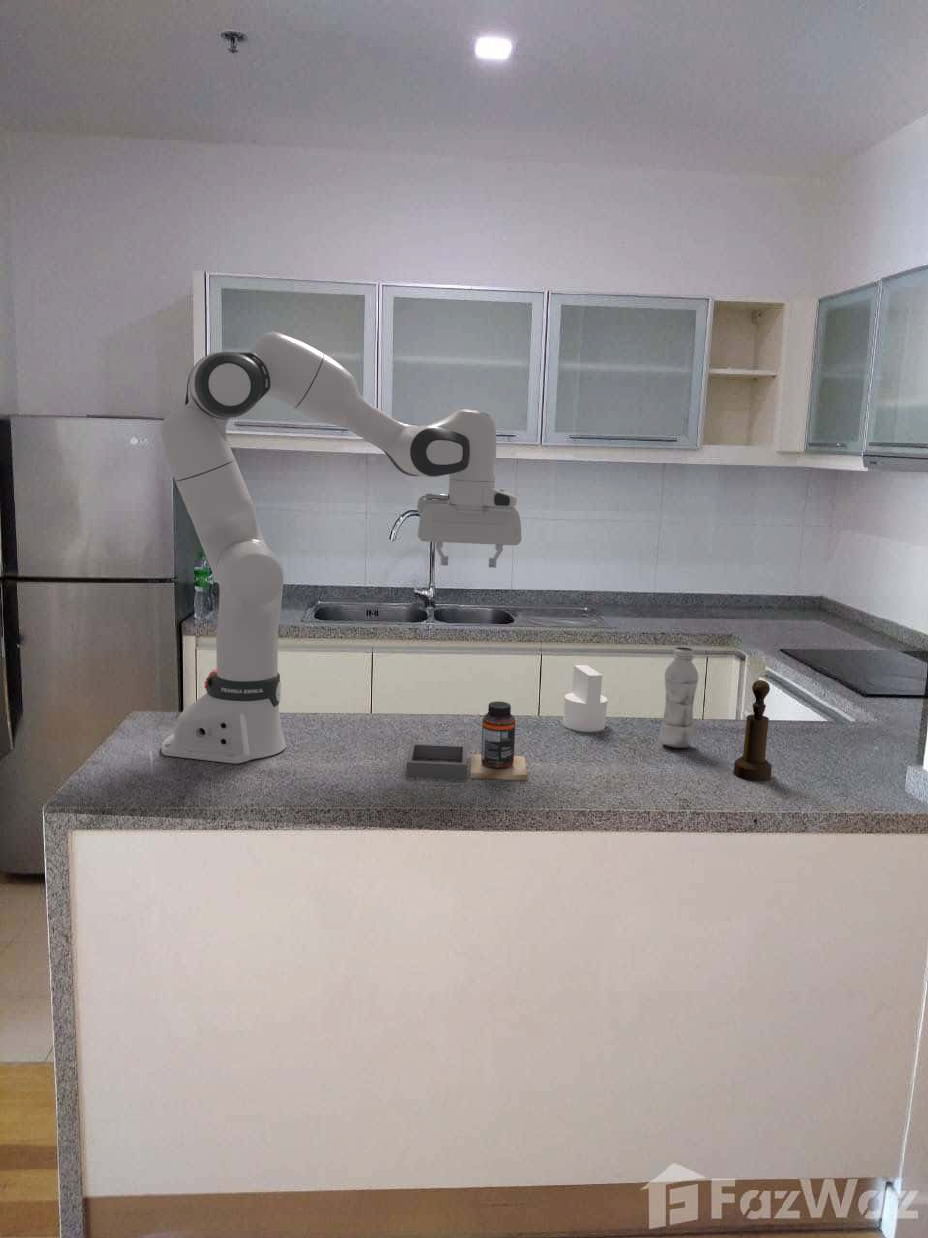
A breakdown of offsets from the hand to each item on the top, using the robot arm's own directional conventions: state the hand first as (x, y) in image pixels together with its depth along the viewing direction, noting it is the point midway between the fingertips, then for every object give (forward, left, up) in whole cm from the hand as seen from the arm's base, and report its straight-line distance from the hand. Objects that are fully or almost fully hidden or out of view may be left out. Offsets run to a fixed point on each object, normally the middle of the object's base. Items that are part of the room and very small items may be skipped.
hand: (468, 566), depth 188 cm
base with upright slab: (+26, +9, -34) cm, 44 cm away
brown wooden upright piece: (+54, -18, -34) cm, 66 cm away
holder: (-4, -21, -34) cm, 40 cm away
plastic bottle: (+43, -3, -34) cm, 55 cm away
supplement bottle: (+7, -21, -33) cm, 40 cm away
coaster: (+7, -21, -34) cm, 41 cm away
